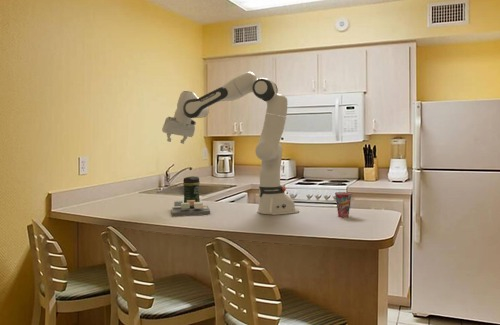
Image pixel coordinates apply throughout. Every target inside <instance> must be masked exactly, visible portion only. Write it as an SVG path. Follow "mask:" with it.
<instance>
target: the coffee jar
mask: <svg viewBox="0 0 500 325" xmlns="http://www.w3.org/2000/svg"><path fill="white" fill-rule="evenodd" d="M182 184H183V189H184V190H183V193H184V194H183V203H187V200H195V202H201V201H200V178H199V176H192V175H191V176H187V177H184V178H183V183H182ZM190 207H192V206H190Z"/></svg>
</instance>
